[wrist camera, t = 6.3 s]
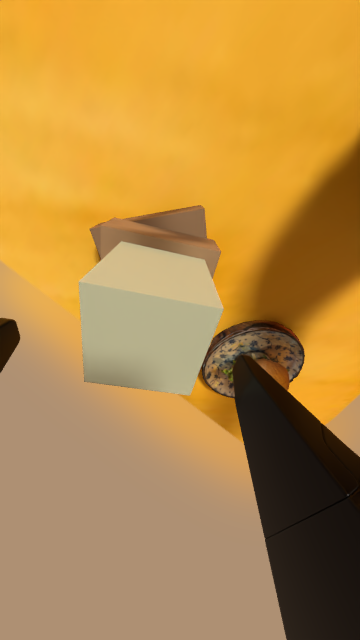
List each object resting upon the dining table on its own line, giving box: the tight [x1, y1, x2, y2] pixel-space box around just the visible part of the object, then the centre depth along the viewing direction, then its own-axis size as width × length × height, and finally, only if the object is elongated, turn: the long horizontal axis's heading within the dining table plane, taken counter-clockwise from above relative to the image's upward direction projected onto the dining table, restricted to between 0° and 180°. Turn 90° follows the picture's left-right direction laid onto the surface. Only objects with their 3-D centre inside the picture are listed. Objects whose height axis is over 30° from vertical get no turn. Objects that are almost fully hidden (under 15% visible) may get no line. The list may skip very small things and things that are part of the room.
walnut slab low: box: [90, 205, 207, 258], centre depth 17 cm, size 8×8×3 cm
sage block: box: [79, 241, 224, 395], centre depth 11 cm, size 5×5×6 cm
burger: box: [202, 321, 305, 398], centre depth 22 cm, size 12×12×8 cm
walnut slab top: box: [101, 218, 221, 278], centre depth 15 cm, size 7×7×3 cm
